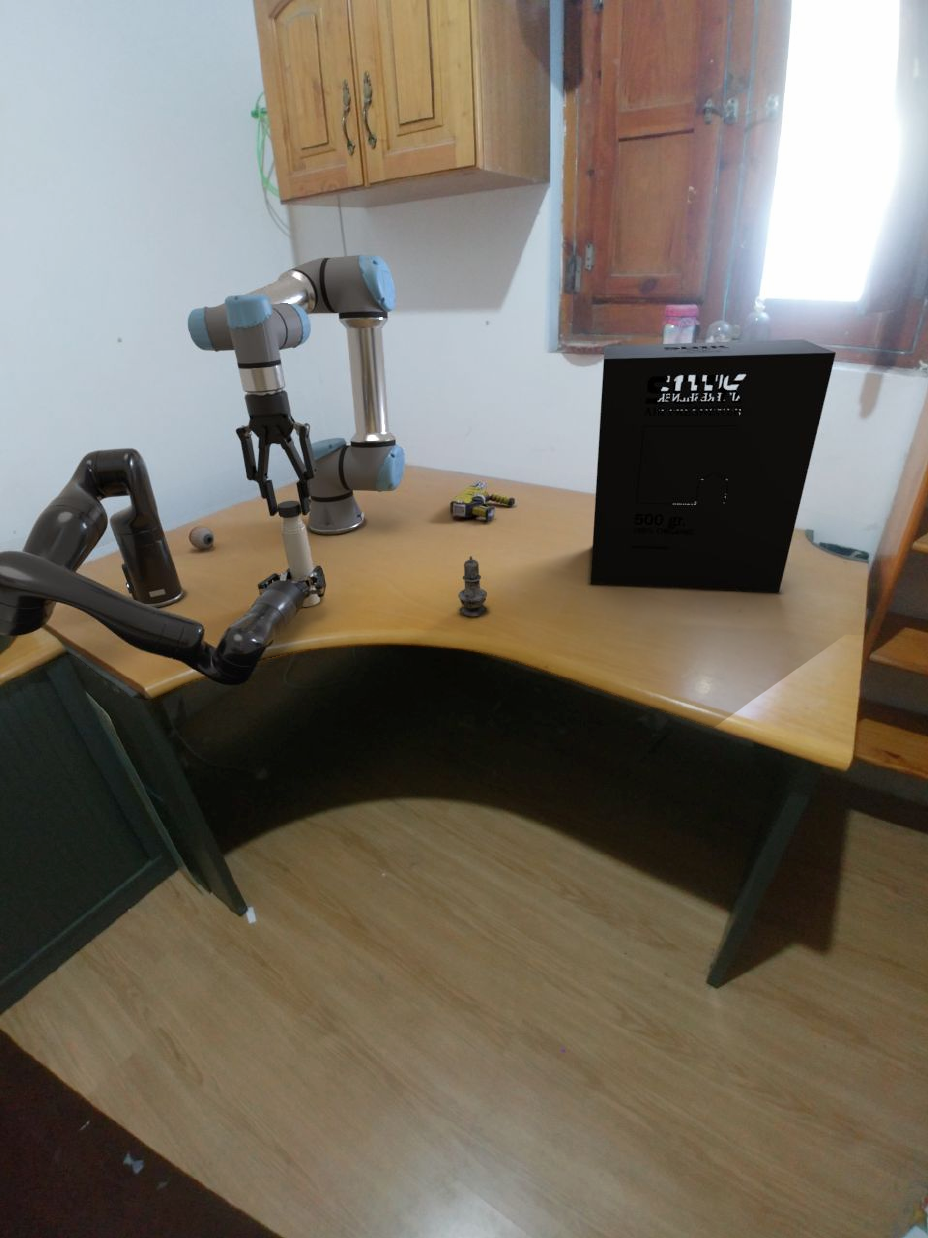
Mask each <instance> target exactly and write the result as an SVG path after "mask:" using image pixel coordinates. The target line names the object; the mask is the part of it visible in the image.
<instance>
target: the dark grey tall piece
mask: <svg viewBox="0 0 928 1238" xmlns="http://www.w3.org/2000/svg"><path fill="white" fill-rule="evenodd" d="M463 572H464V574H463V576H462V579H463V583H464V588H463V589H462V590H461V591H459V592H458V594H457V596H458V597H457V598H458V599H459V601H460V603H461V605H462V606H461V608H460V613H461V615H463V616H466V617H479V616H482V615H484V614H486V612H487V607H486V606H485V605H484V604H485V602H486V601H487V597H488V591H486V590H485V589H483V588H481V581H480V580H482V575H480V567H479V562H478V561H477V560H475V559H473V556H472V555H469V557H468V559H467V560H465V561H464V563H463Z"/></svg>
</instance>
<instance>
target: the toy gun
mask: <svg viewBox="0 0 928 1238" xmlns="http://www.w3.org/2000/svg"><path fill="white" fill-rule="evenodd" d="M486 487H487V482H486V481H485V480H483V481H482V482H481V480H477V481H476V482H474V483H473V484H472V485H469V486H468V487H467V488H466V489H465V490H463V491H462V492H461V493H460V494H459V495H457V496H456V497H455V498H454V499H453V500H451V502H450V503H449V504H450V505H449V513H450V515H451V516H454V518H458V519H459V518H460V519H461V518H471V517H474V516H477V517H481V518H485V521H487V522H488V521H490V520H491V519H493V518H494V517H495V511H496V509H495V508H496V507H495V506H494V505H492V504H491V505H490V506H489V505H488V504H487V503H489V502H490V501H491V502H492V503H499V504H502V505H507V506H508V507H513V506H514V505H515V503H516V499H515V498H514V497H511V496H509V497H508V496H506V495H505V496H504V495H501V494H497V493H491V495H490V494H489V492H488V491H487V489H485V488H486Z"/></svg>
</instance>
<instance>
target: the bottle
mask: <svg viewBox="0 0 928 1238" xmlns="http://www.w3.org/2000/svg"><path fill="white" fill-rule="evenodd" d="M280 533H281V537H282V542H283V547H284V552H285V556H286V561H287V565H288V568H289V570H290V574H291V579H292V580H297V579H299V578H301V577H302V576H304V575H307V576H308V575H309V574H311V573H312V571H313V570H314V569H315V567H314V562H313V561H314V560H313V556H312V552H311V545H310V541H309V535H308V531H307V526H306V524H305V523H304V521H303V519H302V518H301V516H300V515H298V516H296V517H292V518H282V522H281V527H280ZM311 582H312V579H311ZM320 601H321V597H318V594H311V595H310V596H309V597H308V598H306V599H305V600H304V602H303V605H302V607H301V608H308V607H312V606H316V605H317V604H318V603H320Z"/></svg>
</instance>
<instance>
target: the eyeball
mask: <svg viewBox="0 0 928 1238" xmlns="http://www.w3.org/2000/svg"><path fill="white" fill-rule="evenodd" d="M188 539H189V542H190V544H191V545H192V546H193V547H194V548H196V549H198V550H206V549H208V548H210V547H212V545H213V544H214V541H215V535H214V533H213V531H212V529H210V528H209V527H207V526H205V525H198V526H195V527H194V528H192V529H191V530H190V532H189V535H188Z"/></svg>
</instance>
